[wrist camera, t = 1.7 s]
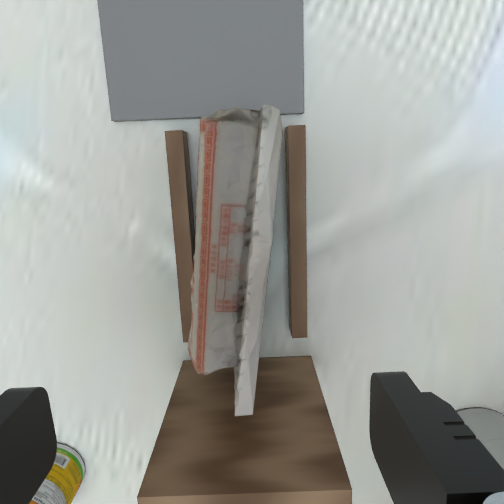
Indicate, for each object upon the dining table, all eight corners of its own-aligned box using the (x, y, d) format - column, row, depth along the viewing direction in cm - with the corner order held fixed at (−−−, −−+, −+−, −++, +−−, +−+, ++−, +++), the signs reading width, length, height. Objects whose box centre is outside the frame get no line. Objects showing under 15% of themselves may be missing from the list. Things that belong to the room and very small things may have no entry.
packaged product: (205, 117, 29) (190, 95, 19) (270, 123, 29) (287, 104, 19) (192, 341, 33) (174, 416, 23) (249, 344, 33) (255, 420, 23)
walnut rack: (309, 127, 29) (360, 97, 16) (310, 368, 34) (351, 508, 20) (163, 133, 29) (86, 109, 16) (184, 373, 34) (139, 516, 20)
